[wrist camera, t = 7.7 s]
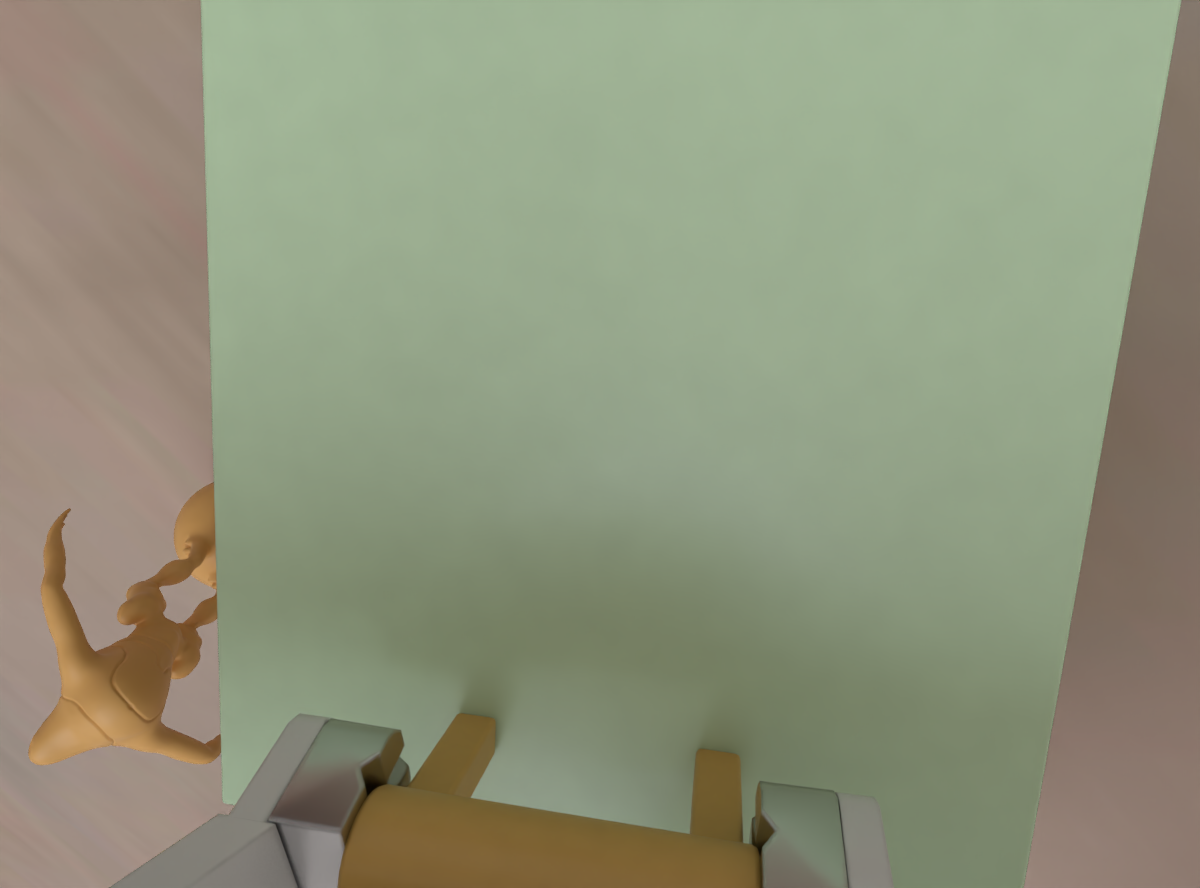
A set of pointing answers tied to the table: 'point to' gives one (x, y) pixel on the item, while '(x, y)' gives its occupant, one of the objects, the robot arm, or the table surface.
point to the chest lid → (666, 411)
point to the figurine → (129, 653)
